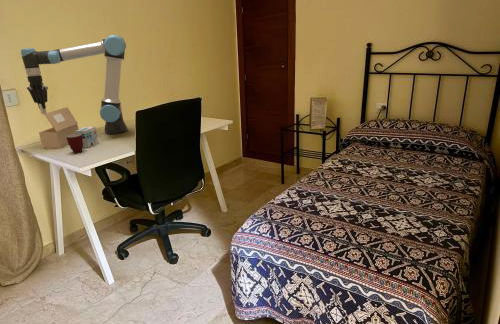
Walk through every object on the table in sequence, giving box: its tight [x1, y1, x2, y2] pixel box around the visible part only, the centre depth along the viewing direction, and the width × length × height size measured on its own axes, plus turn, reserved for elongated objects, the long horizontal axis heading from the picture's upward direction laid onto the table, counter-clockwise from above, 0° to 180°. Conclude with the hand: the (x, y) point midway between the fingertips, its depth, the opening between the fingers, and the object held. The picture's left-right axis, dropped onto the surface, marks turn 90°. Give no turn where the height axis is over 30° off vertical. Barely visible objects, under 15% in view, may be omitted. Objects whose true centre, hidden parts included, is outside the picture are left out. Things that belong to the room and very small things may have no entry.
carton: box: [38, 124, 79, 149], centre depth 219 cm, size 12×20×10 cm, turn 170°
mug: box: [67, 134, 83, 154], centre depth 201 cm, size 10×8×10 cm
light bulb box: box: [76, 126, 99, 149], centre depth 212 cm, size 11×7×11 cm, turn 168°
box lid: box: [43, 106, 78, 132], centre depth 214 cm, size 12×20×1 cm
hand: (44, 113), depth 215 cm, fingers closed
